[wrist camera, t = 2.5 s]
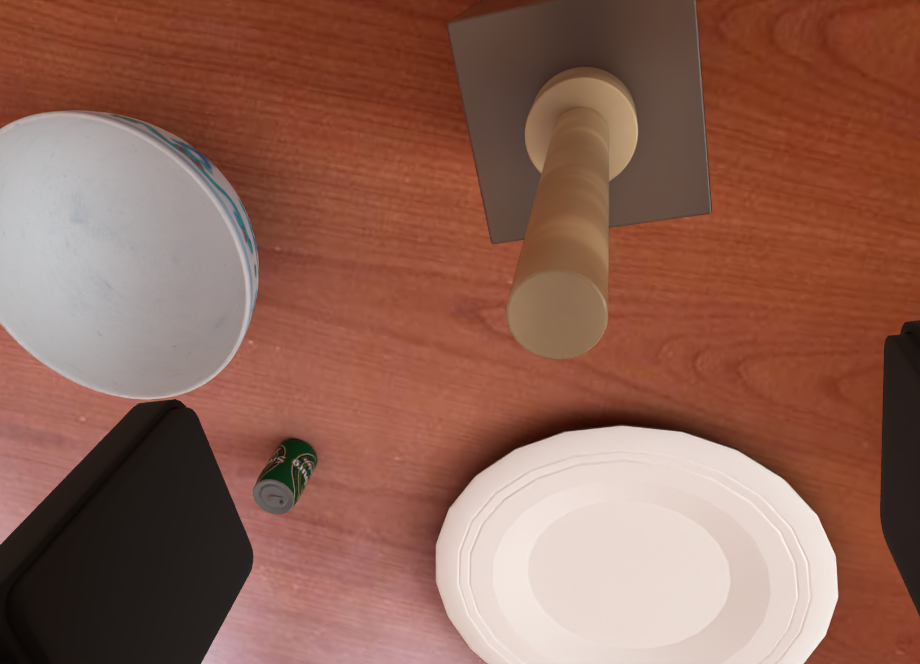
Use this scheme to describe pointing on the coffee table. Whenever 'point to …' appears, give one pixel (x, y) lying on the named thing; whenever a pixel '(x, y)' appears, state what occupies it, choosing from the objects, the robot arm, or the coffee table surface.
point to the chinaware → (121, 254)
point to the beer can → (285, 476)
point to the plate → (634, 555)
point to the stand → (584, 45)
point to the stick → (570, 211)
